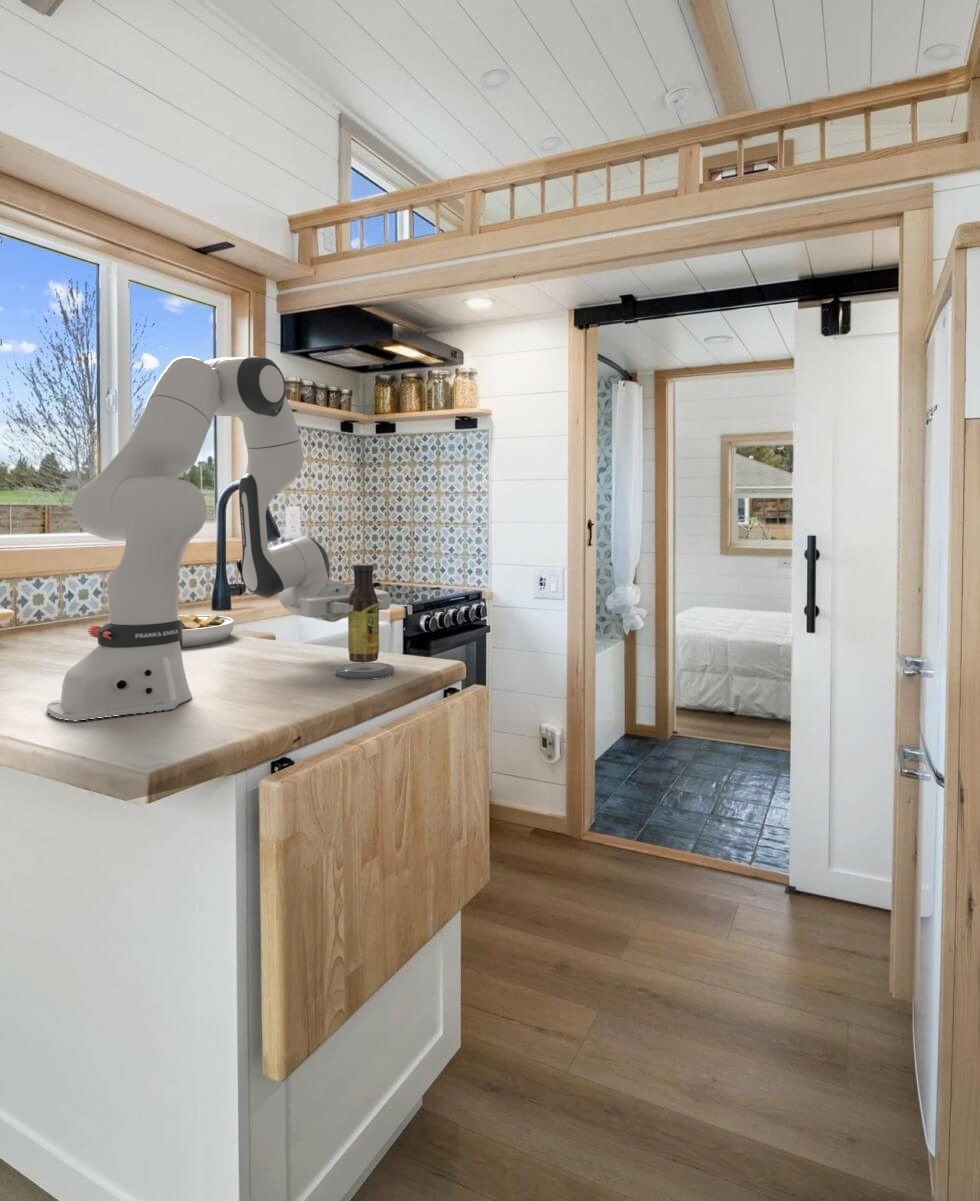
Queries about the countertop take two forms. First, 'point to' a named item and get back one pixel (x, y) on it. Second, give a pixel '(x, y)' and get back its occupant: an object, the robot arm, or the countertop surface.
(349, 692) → the countertop surface
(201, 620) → the bowl
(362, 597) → the sauce bottle
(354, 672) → the slate trivet
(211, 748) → the countertop surface
